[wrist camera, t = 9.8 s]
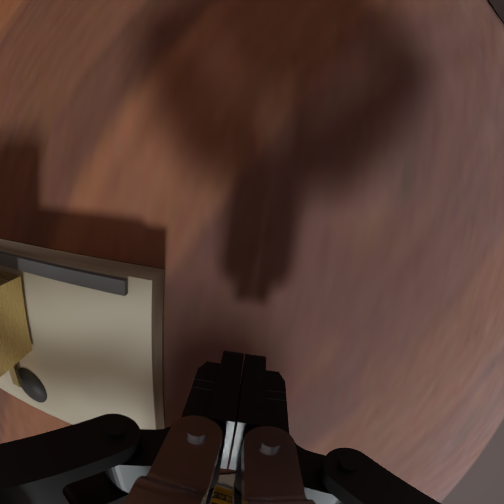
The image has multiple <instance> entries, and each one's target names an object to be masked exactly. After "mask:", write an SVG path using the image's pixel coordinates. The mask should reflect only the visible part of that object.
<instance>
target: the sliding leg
mask: <svg viewBox="0 0 504 504" xmlns="http://www.w3.org/2000/svg"><path fill="white" fill-rule="evenodd" d="M31 351H32V345H31V340H30V336H29V330H28V325H27V319H26V313H25V307H24V299H23V292H22V283H21V276H19V275H16V274H12V273H9V272H6V271H2V270H0V377H1V376H3V375H4V374H5V373H6V372H7V371H8V370H9V372H10V375H11V378H12V381H13V384H15V385H17V386H18V387H21V386H22V385H23V384H22V381H21V378H20V375H19V371H18V368H17V364H16V363H18V362H19V361H20V360H21V359H22V358H24V357H25V356H26V355H27V354H28V353H30V352H31Z"/></svg>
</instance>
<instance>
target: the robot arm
mask: <svg viewBox="0 0 504 504" xmlns="http://www.w3.org/2000/svg"><path fill="white" fill-rule="evenodd" d="M489 2H490V3H491V5H492V6H493V8H494V9H495V11H496V12H497V14H498V15H499V17H500V18H501V19H502V21H503V22H504V0H489ZM243 357H244V354H242V353H236V352H230V351H224V352H223V356H222V360H221V364H219V363H213V362H208V361H207V362H206V363H204V364H203V365H202V366H201V367H200V368H198V371H197V374H196V377H195V380H194V383H193V386H192V388H191V391H190V394H189V397H188V400H187V403H186V406H185V409H184V412H183V415H182V417H181V418H180V419H178V420H176V421H175V422H174V423H173V424H172V426H171V427H168V428H165V429H156V430H154V429H140V428H139V426H138V424H137V423H136V422H135V421H134V420H132V419H131V418H129V417H127V416H125V415H121V414H105V415H102V416H99V417H96V418H93V419H90V420H87V421H83V422H80V423H77V424H74V425H71V426H67V427H64V428H61V429H57V430H54V431H50V432H47V433H43V434H39V435H35V436H32V437H28V438H24V439H20V440H15V441H11V442H7V443H2V444H0V504H211V500H212V497H213V493H214V490H215V485H216V484H217V482H218V479H219V474H220V468H224V469H227V464H228V458H229V453H230V448H231V442H232V448H231V456H230V463H229V469H231V470H236V472H235V481H234V485H233V490H232V504H441V503H439V502H437V501H435V500H434V499H432V498H430V497H429V496H427V495H425V494H424V493H422V492H420V491H419V490H417V489H416V488H414V487H412V486H411V485H409V484H408V483H406V482H405V481H403V480H401V479H400V478H398V477H397V476H395V475H394V474H392V473H391V472H389V471H388V470H386V469H385V468H383V467H382V466H380V465H379V464H378V463H376V462H375V461H373V460H372V459H370V458H369V457H368V456H366V455H365V454H363V453H362V452H360V451H358V450H355V449H351V448H338V449H335V450H332V451H330V452H329V453H328V454H327V455H326V456H325V455H321V454H317V453H313V452H310V451H307V450H305V449H303V448H301V447H300V446H298V445H297V444H296V443H295V441H294V439H293V438H292V437H291V435H290V434H289V427H288V413H287V401H286V393H285V392H286V388H285V381H284V379H283V378H282V376H281V375H280V374H279V372H275V371H267V370H266V357H264V356H256V355H249V354H245V360H244V366H243V371H242V365H243ZM241 373H242V377H241ZM240 380H241V383H240ZM239 388H240V389H239ZM233 431H234V433H233ZM232 437H233V441H232Z"/></svg>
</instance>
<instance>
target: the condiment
mask: <svg viewBox="0 0 504 504" xmlns="http://www.w3.org/2000/svg"><path fill="white" fill-rule="evenodd" d="M234 481H235V474H226V475H219V479H218V482H217V484H216V485H215V490H214V493H213V497H212V500H211V504H232V490H233V485H234Z"/></svg>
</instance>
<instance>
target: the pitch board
mask: <svg viewBox="0 0 504 504" xmlns="http://www.w3.org/2000/svg"><path fill="white" fill-rule="evenodd" d="M0 270H2V271H6V272H9V273H12V274H16V275H19V276H21V283H22V292H23V299H24V307H25V313H26V319H27V325H28V330H29V336H30V340H31V345H32V351H31V352H30V353H28V354H27V355H26V356H25V357H24V358H22V359H21V360H20V361H19V362H18V363H16V364H17V368H18V371H19V375H20V378H21V381H22V384H23V385H22V386H21V387H18V386H17V385H15V384H13V381H12V378H11V375H10V372H9V370H8V371H7V372H6V373H5V374H4V375H3V376H1V377H0V388H1V389H3V390H4V391H6V392H8V393H10V394H11V395H13V396H15V397H17V398H19V399H20V400H22V401H24V402H26V403H28V404H30V405H32V406H34V407H36V408H38V409H40V410H42V411H44V412H46V413H48V414H50V415H52V416H55V417H57V418H59V419H61V420H64V421H66V422H68V423H71V424H73V425H74V424H77V423H80V422H83V421H87V420H90V419H93V418H96V417H99V416H102V415H105V414H121V415H125V416H127V417H129V418H131V419H132V420H134V421H135V422H136V423H137V424H138V426H139V428H140V429H154V430H156V429H165V427H164V407H163V374H162V325H163V291H164V270H165V269H159V268H153V267H147V266H141V265H135V264H130V263H124V262H118V261H112V260H107V259H101V258H96V257H90V256H85V255H79V254H74V253H69V252H63V251H58V250H53V249H48V248H43V247H38V246H33V245H28V244H23V243H18V242H14V241H9V240H4V239H0Z"/></svg>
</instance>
